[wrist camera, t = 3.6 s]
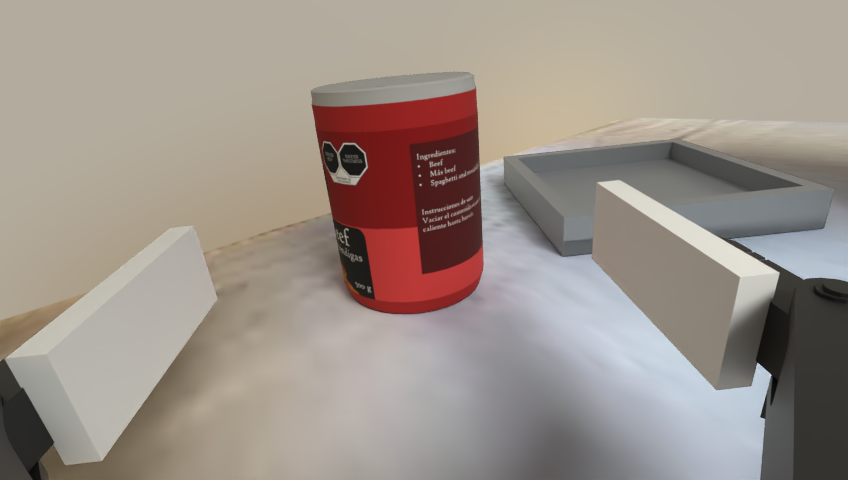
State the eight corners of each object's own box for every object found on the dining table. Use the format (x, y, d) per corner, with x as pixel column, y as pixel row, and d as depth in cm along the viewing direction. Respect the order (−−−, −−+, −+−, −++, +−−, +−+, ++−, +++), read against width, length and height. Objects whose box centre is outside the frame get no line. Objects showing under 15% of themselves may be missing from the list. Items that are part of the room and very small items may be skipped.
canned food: (357, 257, 30) (327, 82, 25) (478, 248, 29) (469, 68, 25) (333, 323, 23) (286, 96, 18) (492, 312, 22) (483, 77, 18)
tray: (673, 165, 42) (677, 138, 41) (823, 228, 27) (834, 188, 26) (504, 183, 42) (503, 156, 41) (562, 256, 27) (564, 217, 26)
